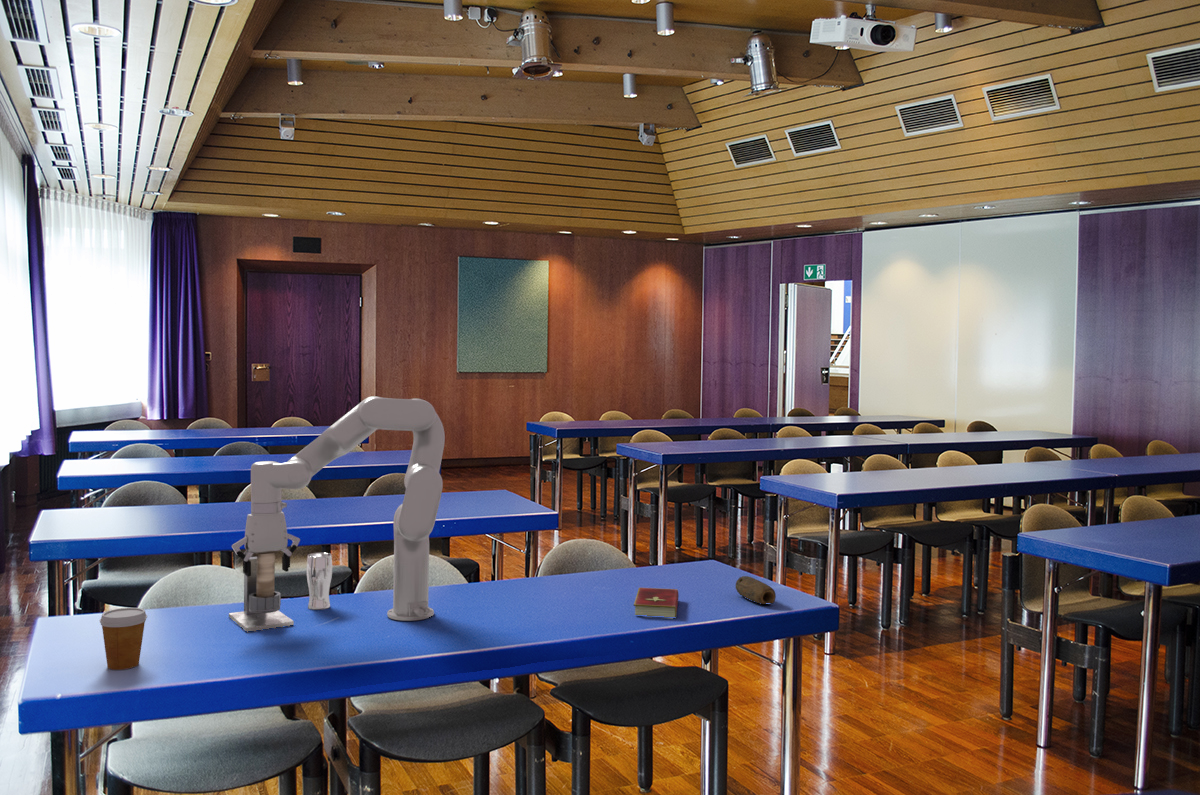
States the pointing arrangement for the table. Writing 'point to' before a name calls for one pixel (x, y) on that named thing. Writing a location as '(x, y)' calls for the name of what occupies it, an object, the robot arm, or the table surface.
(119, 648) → the disposable coffee cup
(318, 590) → the beer glass
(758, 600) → the stone weight
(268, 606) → the cup bracket
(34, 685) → the table surface
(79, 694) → the table surface
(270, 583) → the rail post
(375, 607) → the table surface
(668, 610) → the hardcover book
